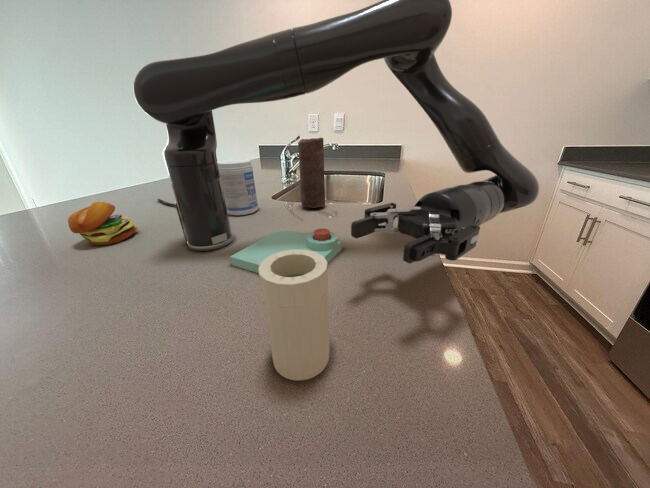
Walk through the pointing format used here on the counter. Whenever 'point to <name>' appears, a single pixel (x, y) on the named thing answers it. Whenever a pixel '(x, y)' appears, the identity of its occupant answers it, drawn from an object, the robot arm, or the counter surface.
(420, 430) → the counter surface
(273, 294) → the jar
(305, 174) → the candle
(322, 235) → the tare button
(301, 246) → the scale
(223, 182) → the supplement tub
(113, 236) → the cheeseburger
